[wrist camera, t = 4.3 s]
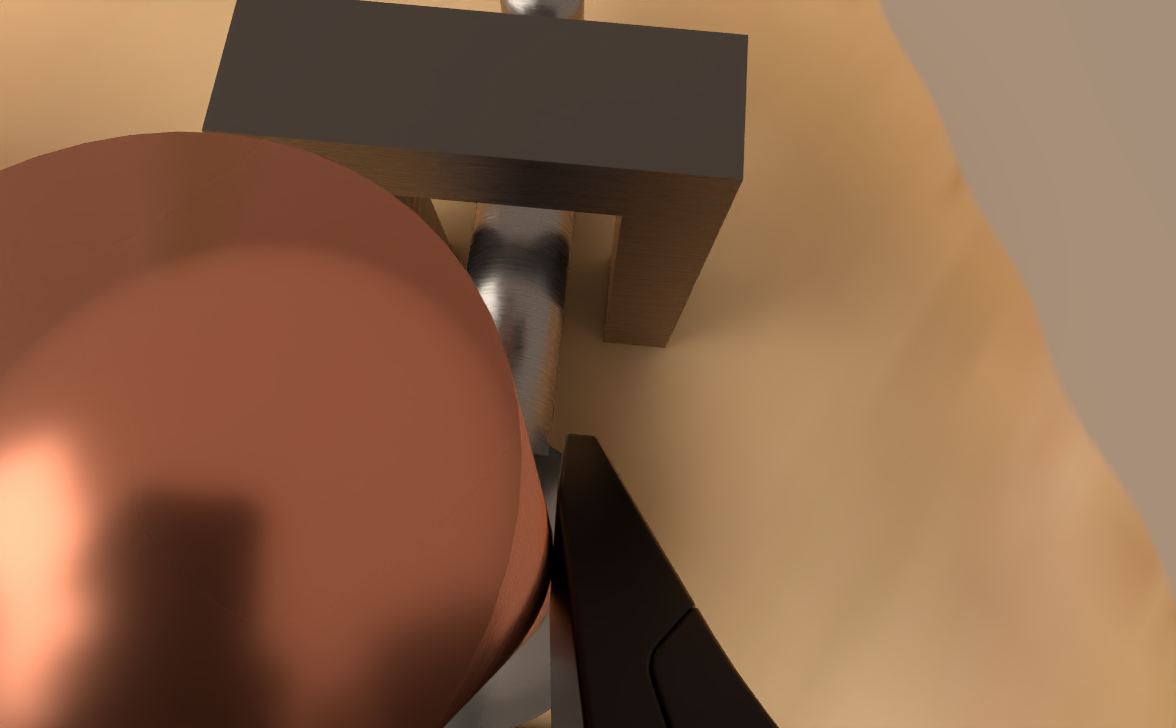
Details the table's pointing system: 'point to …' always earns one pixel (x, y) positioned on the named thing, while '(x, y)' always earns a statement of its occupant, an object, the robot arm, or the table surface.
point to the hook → (271, 443)
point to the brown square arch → (509, 122)
